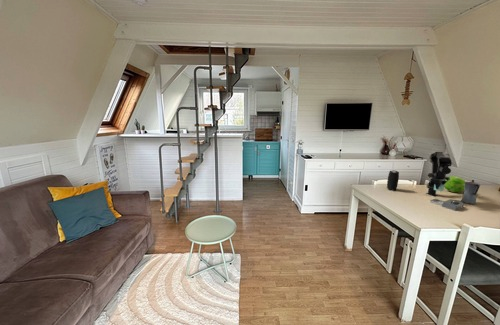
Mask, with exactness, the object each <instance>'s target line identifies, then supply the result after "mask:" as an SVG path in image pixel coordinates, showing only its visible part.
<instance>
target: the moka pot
mask: <svg viewBox="0 0 500 325" xmlns="http://www.w3.org/2000/svg"><path fill="white" fill-rule="evenodd" d="M480 187H481V184H480V183H478V182H475V180H474V179H472V180H471V181H465V190H464V192H463V195H462V198H461V201H460V202H463V203H466V204H472V205H475V204H477V193H478V192H479V190H480Z"/></svg>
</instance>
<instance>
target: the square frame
mask: <svg viewBox="0 0 500 325" xmlns="http://www.w3.org/2000/svg"><path fill="white" fill-rule="evenodd" d="M429 203H431V204H434V205H437V206H441V207H442V208H445V209H449V210H452V211H457V210H460V209H463V207H464V206H463V205H464V202H462V201H459V200H457V199H456V200H455V199H450V198H449V199H447V200H443V199H438V198H433V199H431V200H430V201H429Z"/></svg>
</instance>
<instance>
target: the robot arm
mask: <svg viewBox="0 0 500 325" xmlns="http://www.w3.org/2000/svg"><path fill="white" fill-rule="evenodd" d="M428 159H429V162H430V163H431V173H430V172H429V173H427V177H428V178H430V179H429V180H428V182H427V184H426V189H428V191H427V192H426V193H425V194H426V195H429V196H433V197H434V196H435V197H436V196H438V194H437V190H434V184H435V186H436V189H438V188H439V187H440V185H441V184H442V185H444V184H445V183H446V182H447V181H449V180H450V178H449V177H450V176H447V175H448V174H450V173H451V172H452V169H451V168H450V167H452V165H453V164H452V162H453V161H452V160H451V158H450V157H449V156H446V155H445V154H444V153H443V151H435V152H433V153H431V154H430V155H429V158H428ZM446 180H447V181H446Z"/></svg>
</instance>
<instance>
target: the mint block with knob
mask: <svg viewBox="0 0 500 325" xmlns="http://www.w3.org/2000/svg"><path fill="white" fill-rule="evenodd" d="M434 190H436V192H443V191H444V190H445V187H444V185H442V184H441V185H440V187H439V188H438V189H436V186H435V184H434Z"/></svg>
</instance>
